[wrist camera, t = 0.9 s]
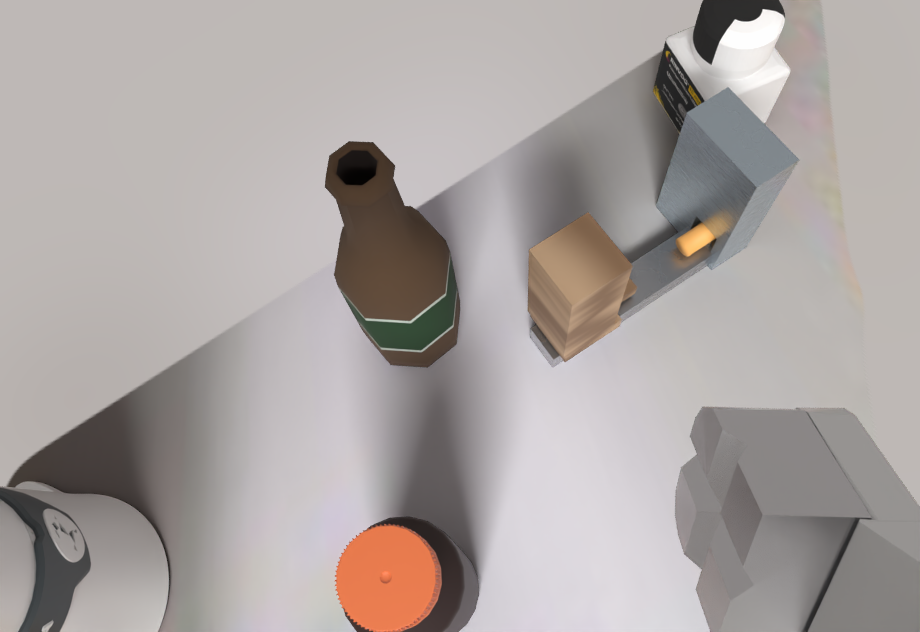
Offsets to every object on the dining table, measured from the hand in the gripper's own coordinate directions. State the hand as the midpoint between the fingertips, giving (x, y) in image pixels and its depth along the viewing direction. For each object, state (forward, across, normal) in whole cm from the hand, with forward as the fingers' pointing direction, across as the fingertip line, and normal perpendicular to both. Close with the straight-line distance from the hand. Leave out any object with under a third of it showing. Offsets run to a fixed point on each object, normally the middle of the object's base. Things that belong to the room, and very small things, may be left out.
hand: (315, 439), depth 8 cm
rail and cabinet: (+48, +17, -24) cm, 57 cm away
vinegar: (+30, +3, -41) cm, 51 cm away
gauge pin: (+48, +23, -21) cm, 57 cm away
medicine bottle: (+60, +25, -14) cm, 67 cm away
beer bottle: (+46, +1, -29) cm, 55 cm away
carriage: (+44, +14, -25) cm, 53 cm away
